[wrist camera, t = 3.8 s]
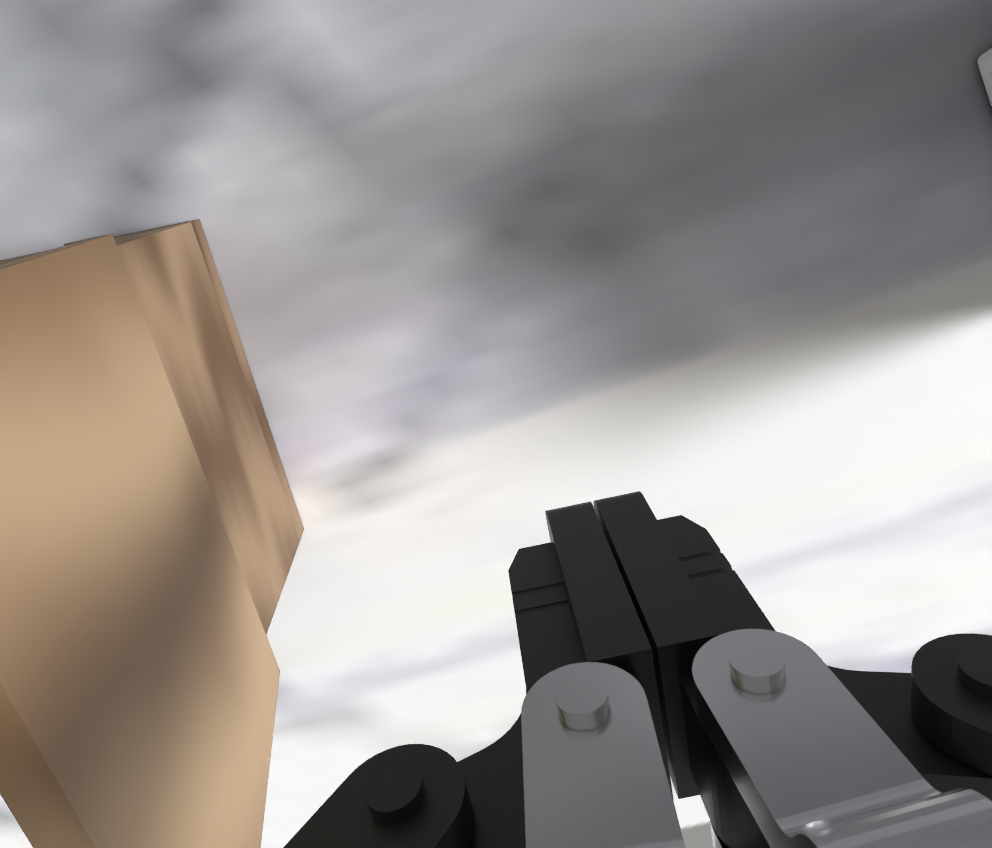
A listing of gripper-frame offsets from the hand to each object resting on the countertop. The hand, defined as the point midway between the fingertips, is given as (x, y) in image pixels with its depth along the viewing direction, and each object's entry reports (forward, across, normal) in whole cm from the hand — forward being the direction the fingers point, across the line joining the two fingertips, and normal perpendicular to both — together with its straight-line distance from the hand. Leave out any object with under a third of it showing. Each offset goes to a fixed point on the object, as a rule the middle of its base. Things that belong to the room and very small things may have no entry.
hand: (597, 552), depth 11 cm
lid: (+2, +9, 0) cm, 9 cm away
